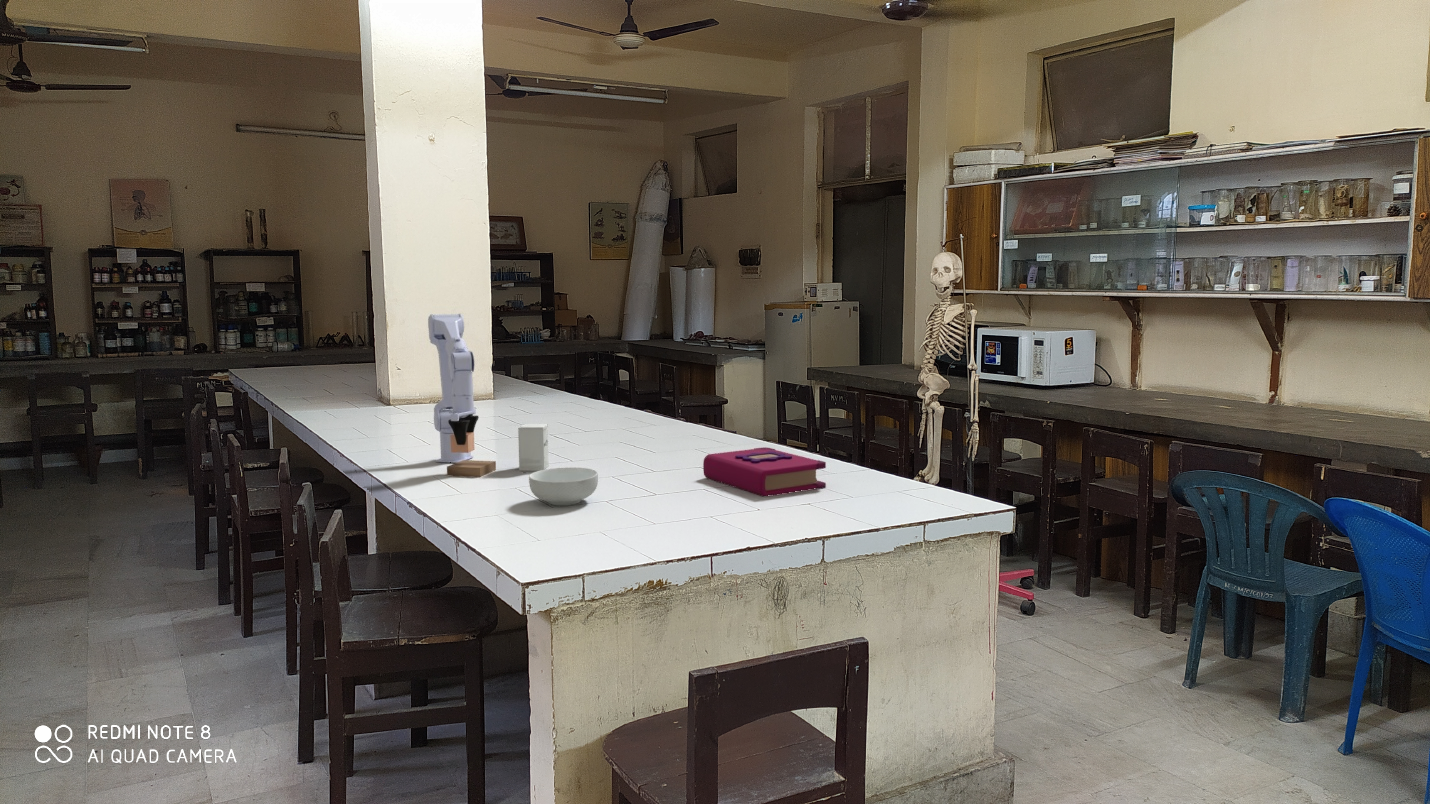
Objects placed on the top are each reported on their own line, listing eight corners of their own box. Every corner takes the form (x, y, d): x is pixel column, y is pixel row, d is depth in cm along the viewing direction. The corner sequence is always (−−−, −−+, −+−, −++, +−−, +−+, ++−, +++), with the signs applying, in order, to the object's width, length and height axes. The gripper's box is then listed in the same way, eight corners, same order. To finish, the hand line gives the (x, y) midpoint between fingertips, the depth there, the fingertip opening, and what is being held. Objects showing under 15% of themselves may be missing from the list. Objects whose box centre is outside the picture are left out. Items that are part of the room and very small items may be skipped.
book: (761, 499, 243) (761, 469, 242) (703, 479, 267) (702, 452, 266) (828, 489, 254) (828, 460, 253) (766, 471, 278) (766, 445, 277)
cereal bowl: (524, 497, 245) (523, 469, 244) (589, 492, 250) (588, 465, 250) (536, 512, 229) (535, 483, 228) (606, 506, 235) (605, 477, 234)
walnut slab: (463, 470, 282) (463, 460, 282) (496, 471, 280) (495, 461, 280) (447, 477, 272) (446, 466, 272) (480, 478, 270) (480, 467, 270)
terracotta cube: (457, 449, 279) (456, 432, 278) (474, 449, 278) (473, 432, 277) (451, 452, 274) (450, 434, 273) (468, 452, 273) (467, 435, 272)
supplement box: (544, 471, 278) (543, 427, 276) (518, 471, 278) (517, 427, 276) (549, 466, 285) (548, 423, 284) (524, 466, 285) (522, 423, 284)
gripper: (458, 392, 281) (459, 438, 283) (439, 398, 267) (441, 447, 269) (481, 392, 281) (483, 438, 282) (464, 398, 266) (466, 447, 268)
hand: (464, 443), depth 275 cm, fingers closed on terracotta cube, 5 cm apart
